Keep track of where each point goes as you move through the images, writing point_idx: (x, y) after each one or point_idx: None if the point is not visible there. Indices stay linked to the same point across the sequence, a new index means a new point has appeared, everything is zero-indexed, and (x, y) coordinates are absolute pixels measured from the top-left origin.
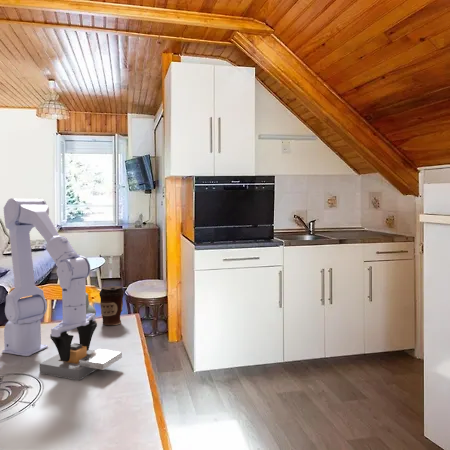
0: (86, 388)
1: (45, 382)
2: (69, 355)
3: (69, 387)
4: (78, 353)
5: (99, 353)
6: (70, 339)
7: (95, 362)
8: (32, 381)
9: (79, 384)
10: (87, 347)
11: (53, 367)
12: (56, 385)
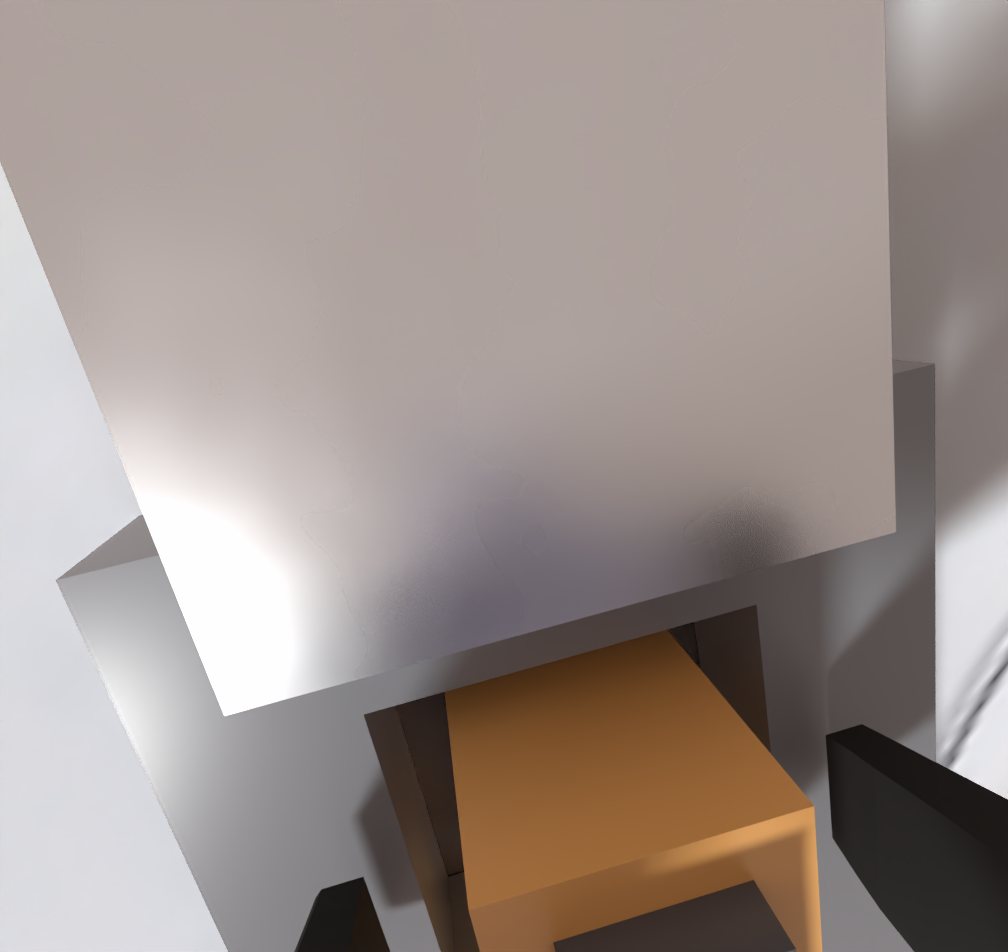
0: (958, 52)
1: (984, 628)
2: (916, 786)
3: (1000, 291)
4: (715, 778)
5: (427, 471)
6: None
7: (884, 87)
8: (1004, 744)
9: (900, 247)
10: (354, 936)
11: None
12: (1004, 470)
